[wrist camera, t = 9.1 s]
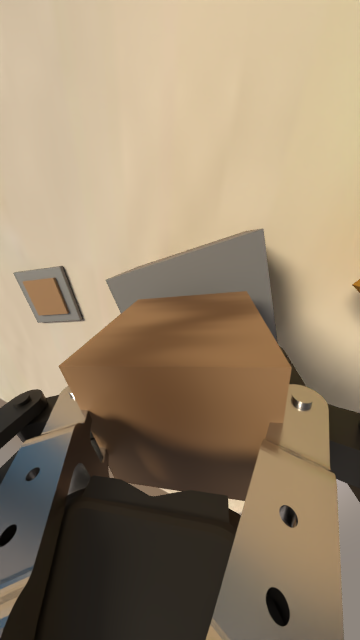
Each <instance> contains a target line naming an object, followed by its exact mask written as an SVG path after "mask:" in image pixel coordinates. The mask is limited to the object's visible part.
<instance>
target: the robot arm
mask: <svg viewBox="0 0 360 640" xmlns="http://www.w3.org/2000/svg"><path fill="white" fill-rule="evenodd" d="M279 347H280V346H279ZM280 349H281V350H282V352H283V354H284V356H285V357H286V359H287V361H288V362H289V364H290V366H291V367H292V369H291V375H290V382H289V389H288V395H287V402H286V409H285V415H284V422H283V423H273V422H270V423H269V427H268V431H267V434H266V438H264V439H263V441H262V444H261V447H260V450H259V454H258V457H257V461H256V464H255V468H254V472H253V475H252V479H251V482H250V486H249V489H248V493H247V496H246V500H245V503H244V507H243V511H242V514H241V515H239V514H238V513H236V512H234V511H232V510H231V509H229V508H228V496H227V495H220V494H214V493H207V492H200V491H194V490H187V491H182V492H176V493H171V494H166V495H160V496H154V497H153V496H149V495H147V494H145V493H144V492H142V491H140V490H139V489H137V488H135V487H133V486H132V485H130V484H128V483H127V482H125V481H123V480H122V479H115V478H109V473H108V465H109V454H108V452H107V450H106V448H102V447H99V446H98V444H97V442H96V440H95V438H94V436H93V434H92V432H91V430H90V429H91V424H92V418H91V416H90V414H89V412H88V410H80V408H79V406H78V404H77V402H76V400H75V398H74V396H73V394H72V392H71V390H70V388H69V386H67V387H66V388H65V389H64V390H63V391H62V392H61V393H60V395H57V396H52V397H48V398H45V396H44V394H43V393H42V391H41V390H37V389H36V390H30V391H27V392H25V393H22V394H20V395H18V396H17V397H15V398H14V399H12V400H11V401H9V402H8V403H7V404H5V405H4V406H3V407H2V408H0V448H1V447H3V446H4V445H5V444H6V443H7V442H8V441H10V440H11V439H12V438H13V437H14V436H15V435H16V434H17V436H18V437H19V438H20V439H21V441H22V442H23V444H22V446H21V447H20V449H19V450H18V451H17V452H16V453H15V454H14V455H13V456H12V457H11V458H10V459H9V460H8V461H7V462H6V463H5V464H4V465H3V466H2V467H1V468H0V640H344V630H343V608H342V587H341V565H340V545H339V544H340V543H339V522H338V500H337V483H336V479H338V480H341V481H343V482H345V483H347V484H348V485H349V487H350V488H351V490H352V491H353V493H354V494H355V496H356V497H357V499H358V500H359V502H360V413H357V412H353V411H349V410H346V409H342V408H338V407H335V406H332V405H329V404H327V402H326V401H325V399H324V398H323V397H322V396H321V395H320V394H318V393H317V392H316V391H314V390H312V389H310V388H308V387H306V386H305V384H304V382H303V381H302V379H301V378H300V376H299V374H298V373H297V371H296V369H295V368H294V366H293V364H291V361H290V359H289V358H288V357H287V355H286V353H285V351H284V350H283V349H282V348H281V347H280Z"/></svg>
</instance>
